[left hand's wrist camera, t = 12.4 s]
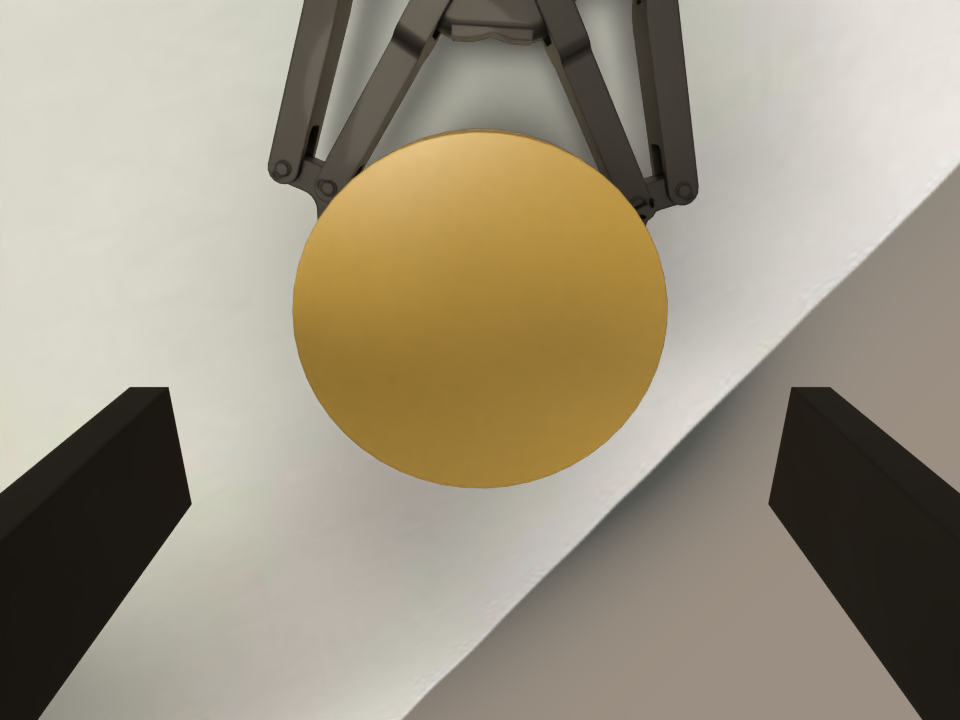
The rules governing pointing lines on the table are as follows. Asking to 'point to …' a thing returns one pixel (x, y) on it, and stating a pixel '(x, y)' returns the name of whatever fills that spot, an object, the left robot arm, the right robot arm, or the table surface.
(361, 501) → the table surface
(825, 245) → the table surface
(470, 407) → the lid
